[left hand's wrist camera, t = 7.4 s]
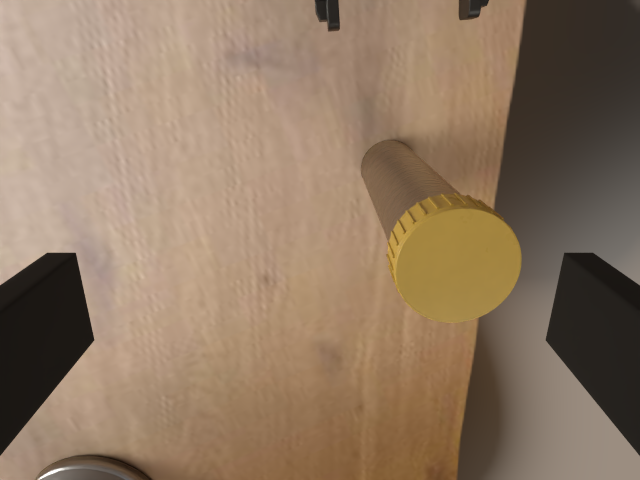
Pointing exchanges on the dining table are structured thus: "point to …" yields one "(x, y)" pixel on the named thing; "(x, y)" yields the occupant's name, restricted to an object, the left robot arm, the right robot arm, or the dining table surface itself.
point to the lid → (453, 258)
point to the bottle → (398, 181)
